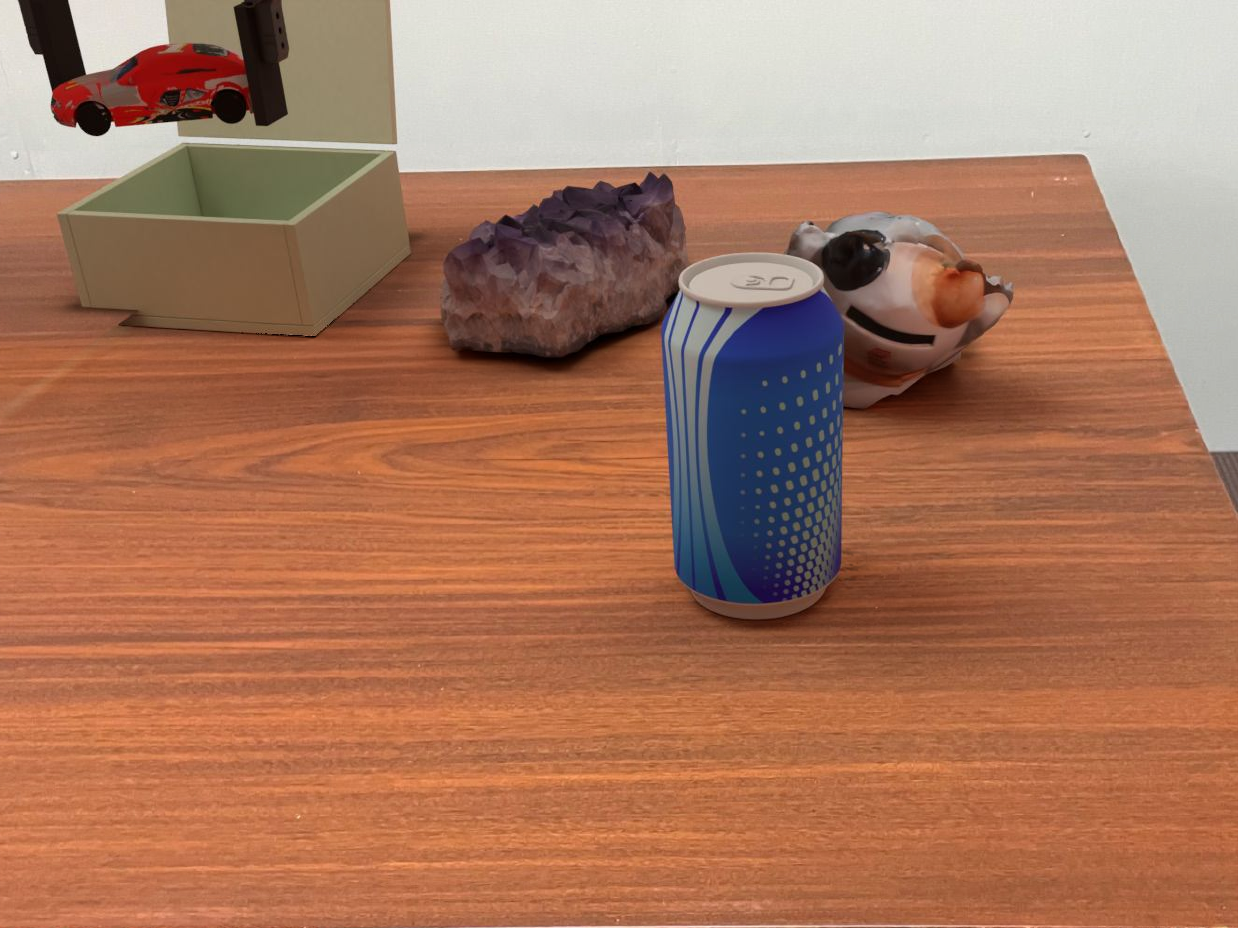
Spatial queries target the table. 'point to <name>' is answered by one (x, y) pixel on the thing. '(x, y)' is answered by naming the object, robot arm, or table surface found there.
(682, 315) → the beer can
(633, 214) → the geode
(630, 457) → the table surface
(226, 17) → the chest lid
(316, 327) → the chest
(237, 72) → the race car
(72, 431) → the table surface
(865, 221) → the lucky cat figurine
